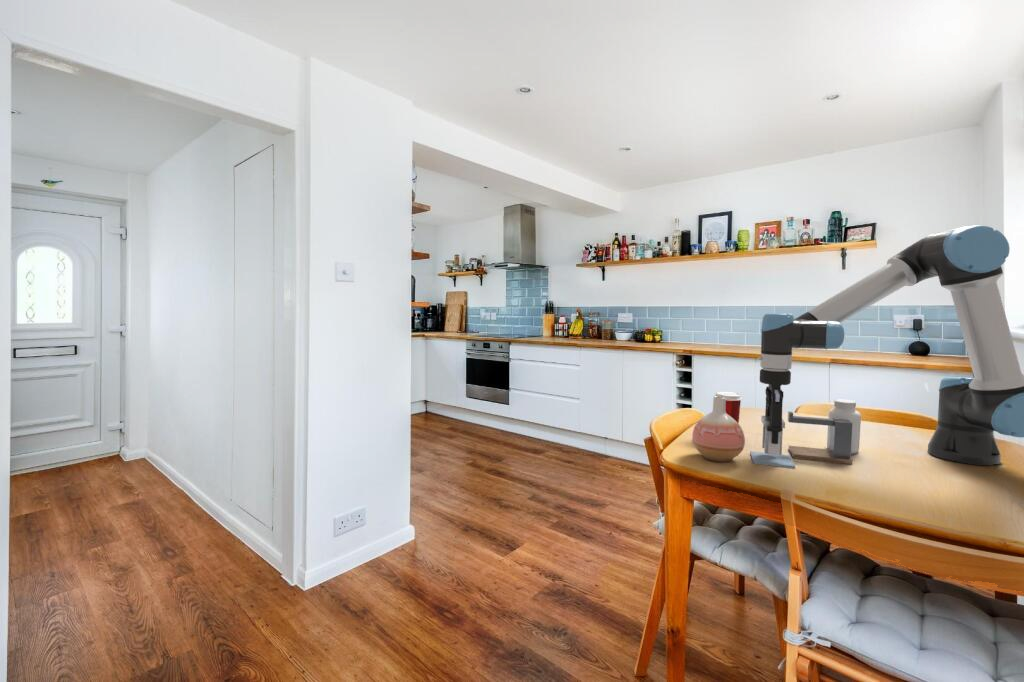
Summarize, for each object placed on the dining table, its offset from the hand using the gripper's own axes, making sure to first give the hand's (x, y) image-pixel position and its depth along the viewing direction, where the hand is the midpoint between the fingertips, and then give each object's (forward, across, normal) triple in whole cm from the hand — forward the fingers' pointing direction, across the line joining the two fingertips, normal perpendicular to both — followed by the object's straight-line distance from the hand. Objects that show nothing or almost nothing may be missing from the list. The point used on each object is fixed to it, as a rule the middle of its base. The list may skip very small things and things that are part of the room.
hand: (771, 450), depth 133 cm
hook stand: (+3, -9, +13) cm, 16 cm away
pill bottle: (+3, -19, +21) cm, 29 cm away
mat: (+3, 0, 0) cm, 3 cm away
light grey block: (0, 0, 0) cm, 0 cm away
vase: (+3, +4, -14) cm, 15 cm away
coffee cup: (+3, -18, -11) cm, 21 cm away
